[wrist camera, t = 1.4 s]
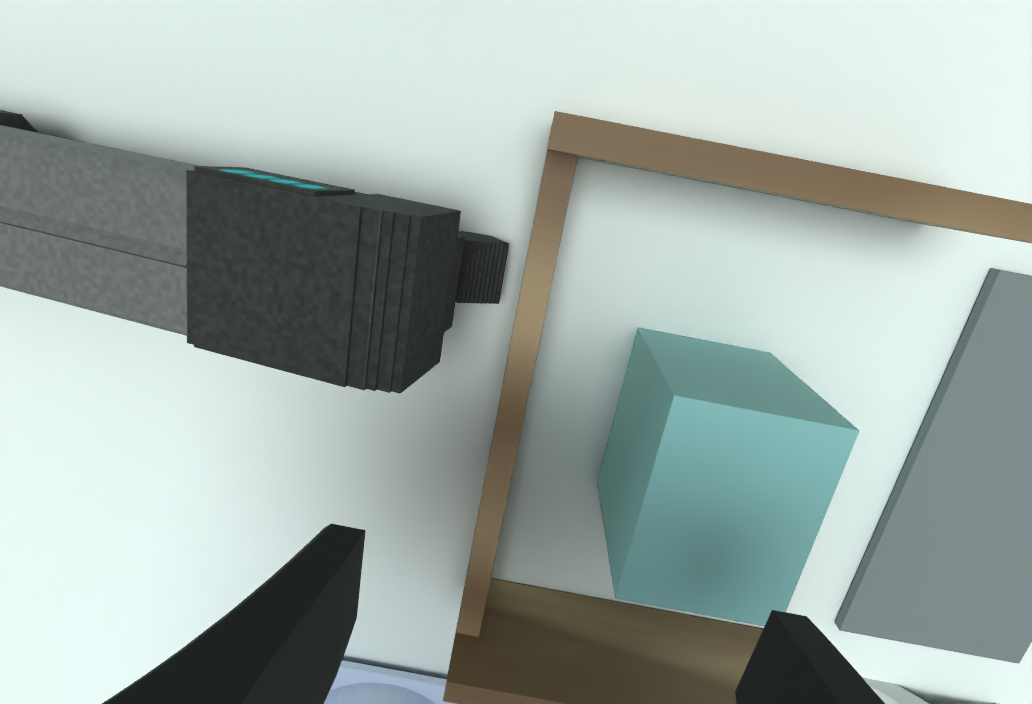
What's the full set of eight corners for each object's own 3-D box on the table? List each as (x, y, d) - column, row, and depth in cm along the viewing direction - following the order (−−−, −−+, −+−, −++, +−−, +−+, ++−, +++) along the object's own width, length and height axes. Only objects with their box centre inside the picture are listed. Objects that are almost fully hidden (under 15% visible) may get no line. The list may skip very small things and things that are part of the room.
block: (717, 505, 22) (778, 629, 16) (597, 482, 22) (614, 597, 16) (769, 352, 20) (859, 430, 14) (637, 327, 20) (674, 395, 14)
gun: (512, 339, 20) (303, 456, 11) (99, 219, 26) (-251, 231, 17) (537, 202, 18) (319, 207, 9) (93, 110, 25) (-291, 60, 16)
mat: (1011, 655, 23) (1018, 663, 23) (834, 622, 23) (839, 630, 23) (1207, 310, 19) (1221, 313, 18) (990, 268, 19) (1000, 270, 18)
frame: (757, 645, 23) (811, 768, 19) (463, 590, 23) (442, 701, 19) (934, 198, 18) (1073, 212, 13) (552, 123, 18) (554, 111, 13)
